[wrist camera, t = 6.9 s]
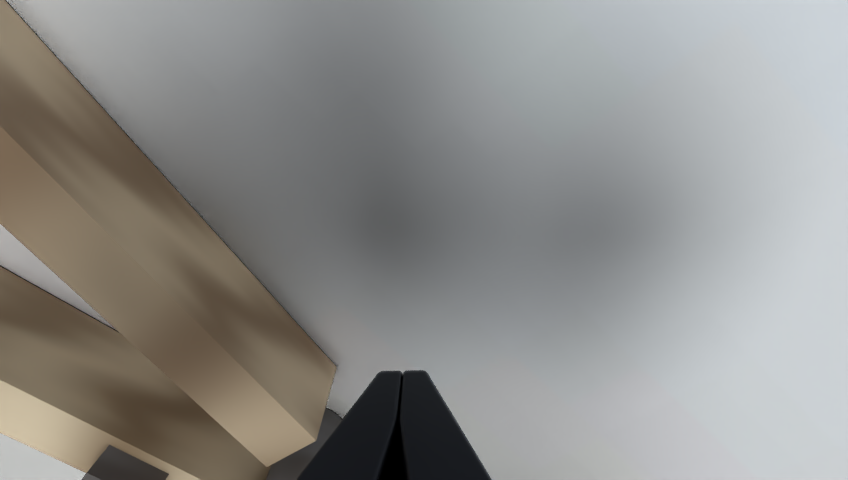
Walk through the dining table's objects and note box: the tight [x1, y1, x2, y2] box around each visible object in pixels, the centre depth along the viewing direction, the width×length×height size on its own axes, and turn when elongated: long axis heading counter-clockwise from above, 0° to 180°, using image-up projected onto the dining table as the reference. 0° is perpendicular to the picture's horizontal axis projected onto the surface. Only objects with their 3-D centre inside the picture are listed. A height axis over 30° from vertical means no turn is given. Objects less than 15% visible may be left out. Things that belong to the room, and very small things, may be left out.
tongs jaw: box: [0, 0, 337, 467], centre depth 12 cm, size 22×2×4 cm, turn 33°
